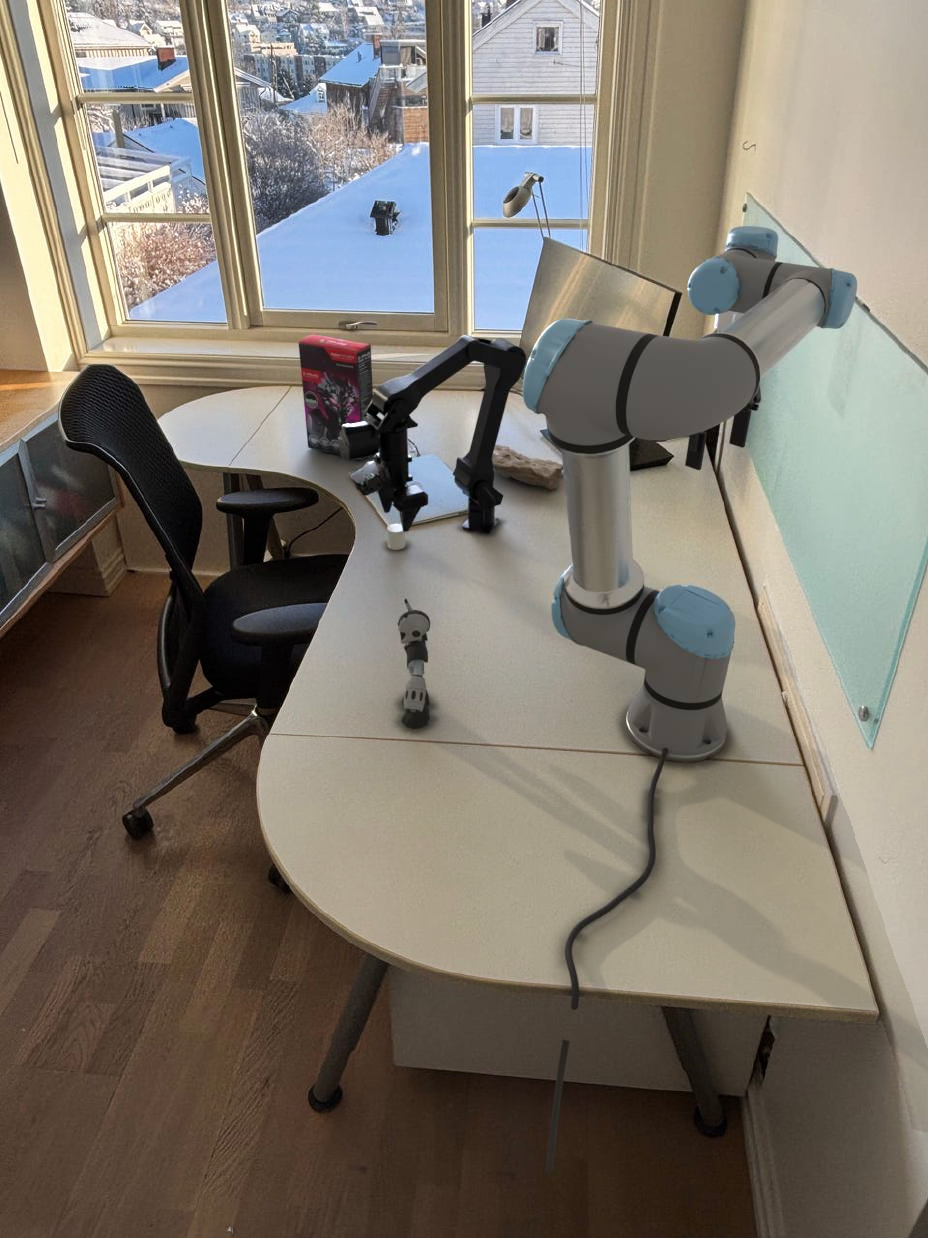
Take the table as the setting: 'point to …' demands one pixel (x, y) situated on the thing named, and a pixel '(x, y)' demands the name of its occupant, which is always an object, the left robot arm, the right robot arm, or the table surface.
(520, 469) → the stone
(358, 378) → the graphics card box
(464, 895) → the table surface
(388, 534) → the can
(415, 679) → the robot
